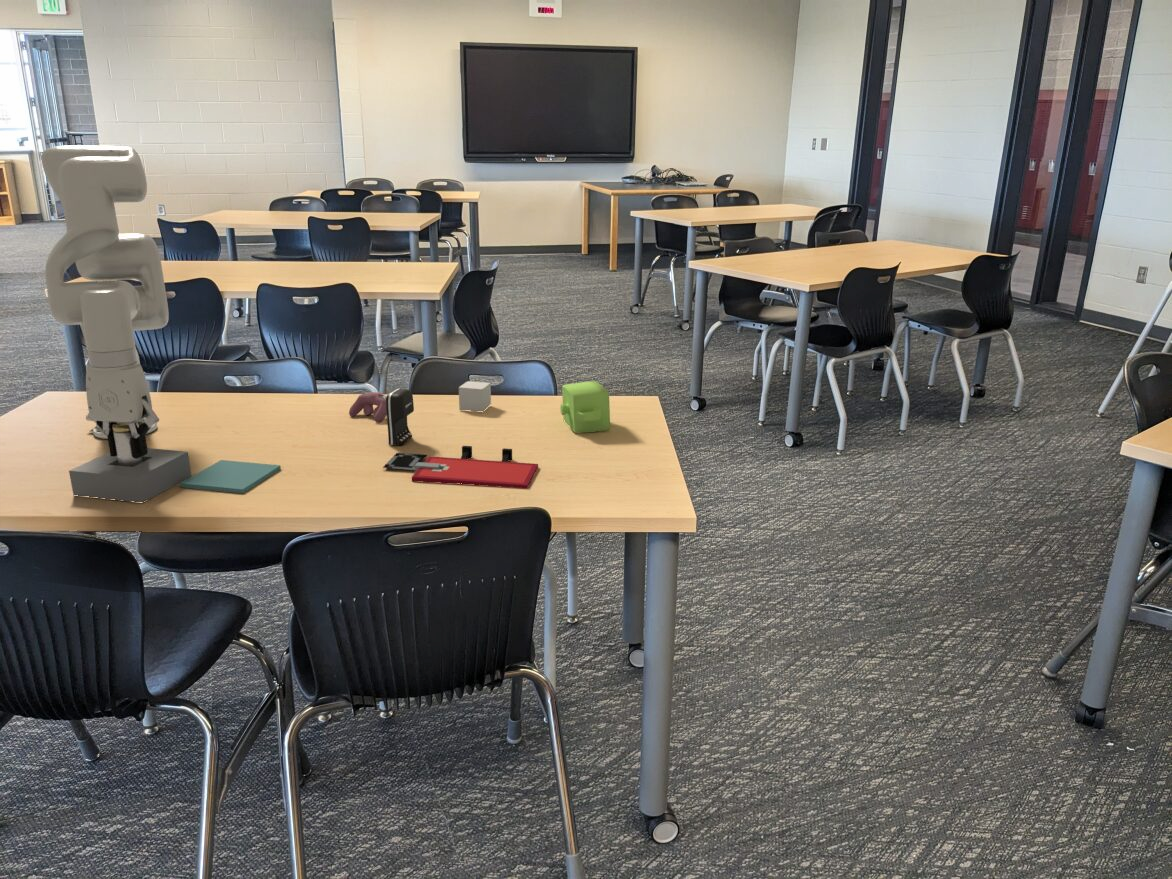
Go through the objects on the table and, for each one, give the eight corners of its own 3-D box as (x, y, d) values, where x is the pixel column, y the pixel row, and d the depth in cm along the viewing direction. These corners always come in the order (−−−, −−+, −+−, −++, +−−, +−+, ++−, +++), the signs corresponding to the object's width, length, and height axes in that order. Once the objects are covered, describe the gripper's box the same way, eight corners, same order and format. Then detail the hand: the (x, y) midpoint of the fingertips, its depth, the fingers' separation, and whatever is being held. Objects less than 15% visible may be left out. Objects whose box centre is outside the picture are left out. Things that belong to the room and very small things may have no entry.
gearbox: (552, 418, 208) (550, 379, 205) (591, 413, 211) (590, 375, 208) (571, 439, 192) (569, 398, 189) (614, 434, 194) (612, 393, 191)
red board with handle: (399, 453, 181) (374, 480, 167) (399, 441, 180) (373, 467, 166) (541, 463, 178) (527, 492, 164) (541, 450, 177) (527, 478, 163)
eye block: (73, 496, 157) (68, 470, 155) (127, 469, 170) (123, 445, 168) (142, 503, 154) (137, 477, 153) (191, 476, 167) (188, 451, 166)
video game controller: (389, 426, 204) (397, 397, 204) (376, 422, 200) (384, 393, 200) (359, 419, 209) (367, 391, 209) (346, 415, 205) (354, 386, 205)
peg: (117, 489, 161) (106, 427, 157) (132, 481, 164) (122, 420, 160) (136, 490, 160) (126, 428, 156) (151, 483, 164) (141, 422, 160)
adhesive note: (468, 404, 216) (467, 381, 215) (491, 406, 215) (490, 383, 213) (459, 411, 211) (458, 387, 209) (482, 413, 210) (482, 389, 208)
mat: (180, 487, 162) (179, 483, 162) (221, 463, 174) (221, 459, 174) (243, 493, 159) (242, 489, 159) (280, 469, 171) (280, 465, 171)
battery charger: (404, 447, 185) (401, 395, 181) (387, 446, 185) (384, 394, 182) (417, 437, 191) (414, 387, 187) (401, 436, 192) (398, 386, 188)
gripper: (56, 359, 152) (74, 458, 158) (140, 365, 149) (156, 465, 155) (88, 350, 159) (104, 445, 165) (169, 356, 156) (182, 452, 162)
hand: (129, 454), depth 160 cm, fingers closed on peg, 4 cm apart
